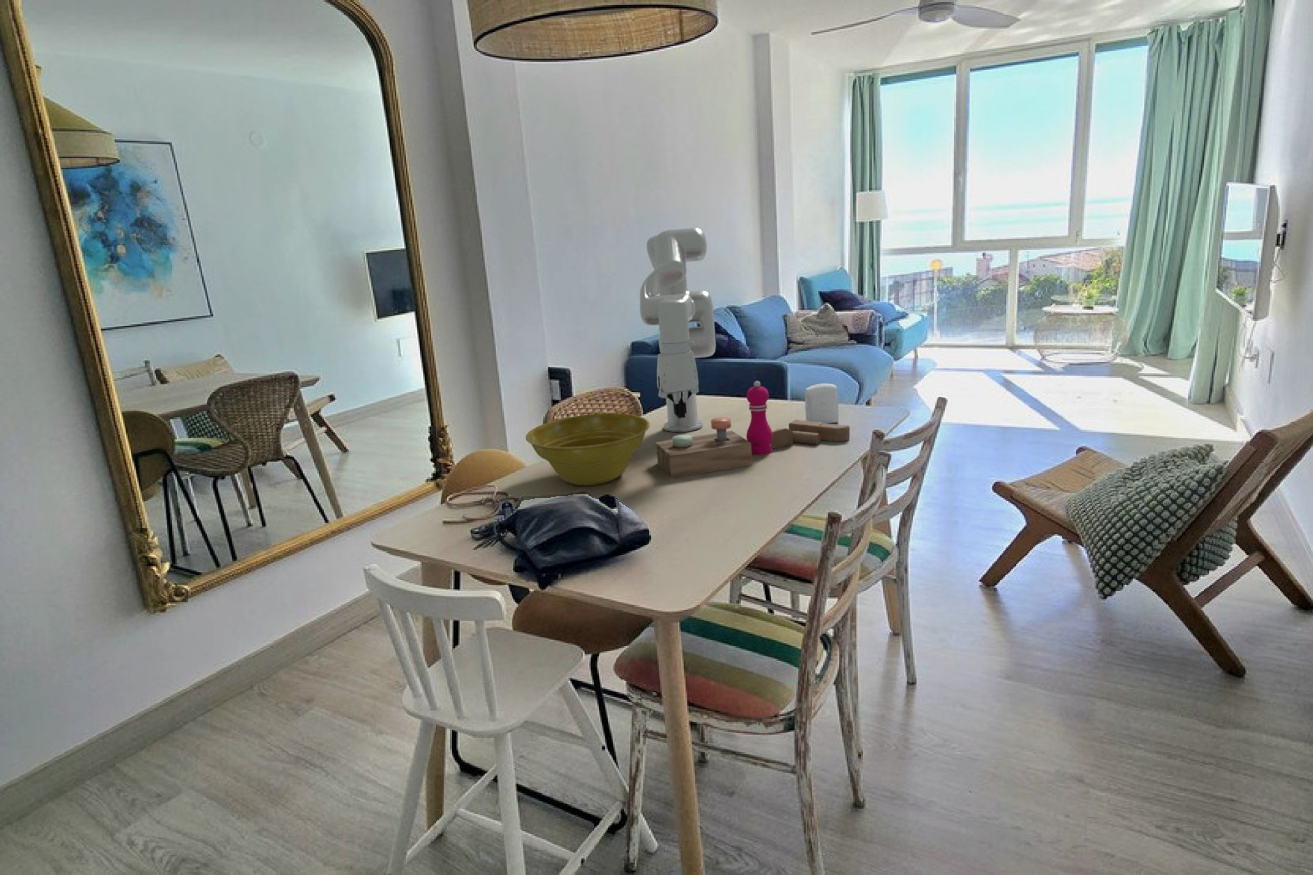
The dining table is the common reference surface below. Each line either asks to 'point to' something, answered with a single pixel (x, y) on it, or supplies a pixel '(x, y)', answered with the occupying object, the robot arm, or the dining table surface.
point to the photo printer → (821, 403)
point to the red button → (721, 427)
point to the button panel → (704, 455)
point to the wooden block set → (809, 433)
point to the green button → (682, 441)
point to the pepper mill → (758, 421)
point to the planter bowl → (589, 445)
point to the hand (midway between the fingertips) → (680, 416)
